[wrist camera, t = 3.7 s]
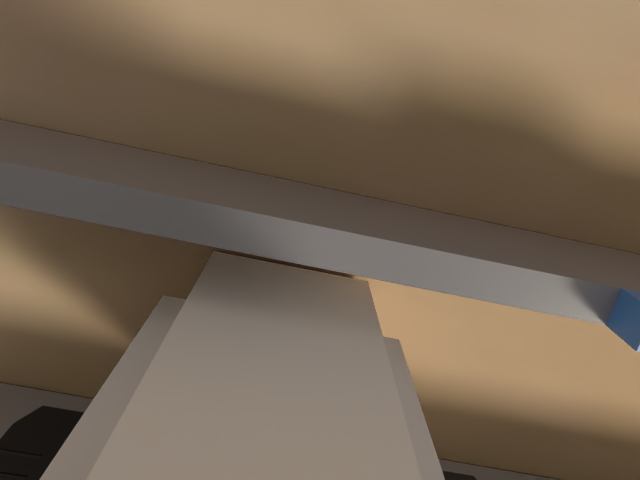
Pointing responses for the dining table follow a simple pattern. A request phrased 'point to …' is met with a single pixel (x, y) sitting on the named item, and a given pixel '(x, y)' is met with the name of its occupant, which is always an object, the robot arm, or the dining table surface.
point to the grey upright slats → (309, 238)
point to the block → (266, 385)
